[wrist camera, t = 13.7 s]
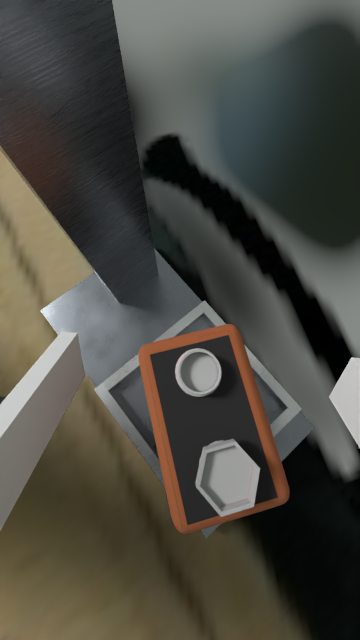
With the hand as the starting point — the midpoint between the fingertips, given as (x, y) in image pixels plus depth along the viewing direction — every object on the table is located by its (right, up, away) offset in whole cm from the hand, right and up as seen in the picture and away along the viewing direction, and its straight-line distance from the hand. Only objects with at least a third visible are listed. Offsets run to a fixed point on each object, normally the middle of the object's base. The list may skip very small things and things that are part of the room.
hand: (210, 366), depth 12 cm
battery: (-1, -4, +6) cm, 7 cm away
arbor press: (-2, -2, +8) cm, 8 cm away
